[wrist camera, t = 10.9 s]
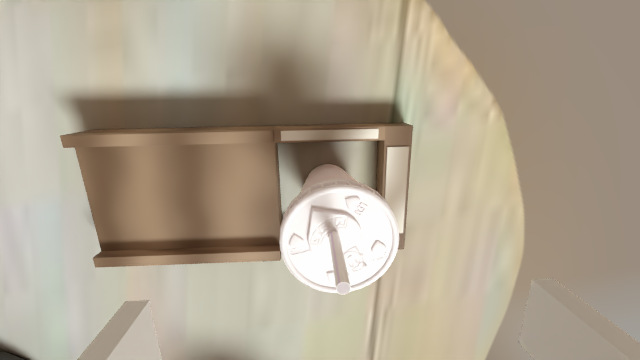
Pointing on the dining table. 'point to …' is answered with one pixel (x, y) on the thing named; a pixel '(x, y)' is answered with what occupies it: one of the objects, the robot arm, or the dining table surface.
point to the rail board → (210, 188)
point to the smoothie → (338, 232)
